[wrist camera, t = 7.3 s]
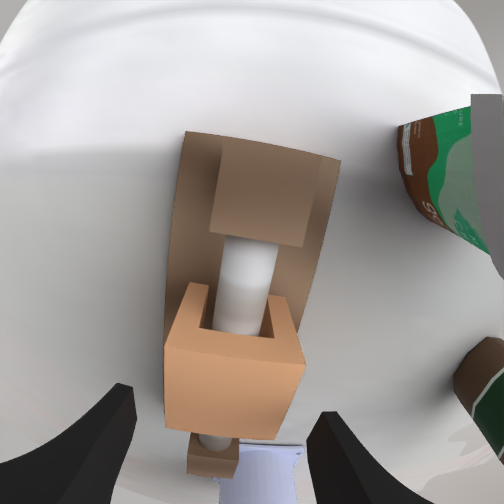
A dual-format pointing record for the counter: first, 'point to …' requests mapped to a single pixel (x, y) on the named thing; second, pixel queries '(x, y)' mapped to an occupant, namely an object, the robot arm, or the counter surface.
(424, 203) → the food container
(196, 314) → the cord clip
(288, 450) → the robot arm
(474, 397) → the beer bottle
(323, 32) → the counter surface
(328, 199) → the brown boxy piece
